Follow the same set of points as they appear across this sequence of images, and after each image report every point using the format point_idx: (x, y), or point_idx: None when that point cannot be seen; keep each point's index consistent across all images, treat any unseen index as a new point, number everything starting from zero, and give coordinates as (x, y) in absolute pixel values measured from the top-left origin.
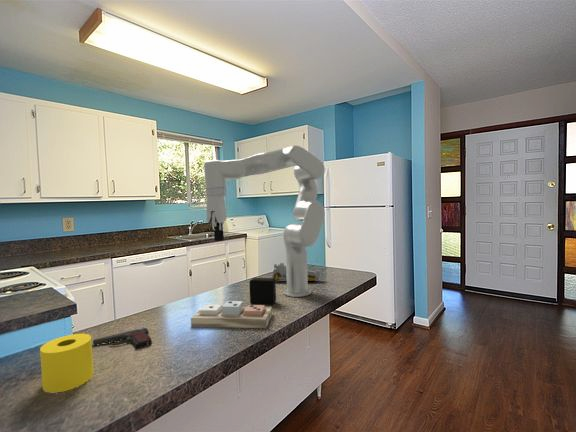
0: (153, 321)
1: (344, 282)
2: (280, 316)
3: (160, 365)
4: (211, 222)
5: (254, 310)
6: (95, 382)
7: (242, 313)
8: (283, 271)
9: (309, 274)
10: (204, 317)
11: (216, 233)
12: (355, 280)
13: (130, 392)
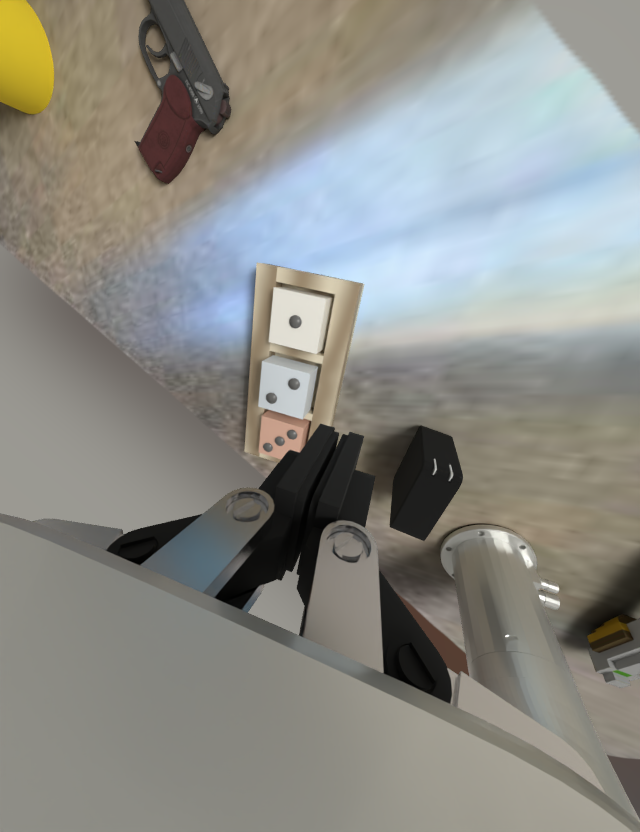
0: (320, 82)
1: None
2: None
3: (104, 253)
4: (138, 590)
5: (263, 438)
6: (33, 136)
7: None
8: None
9: (616, 650)
10: (257, 307)
11: (263, 490)
12: None
13: (38, 233)
